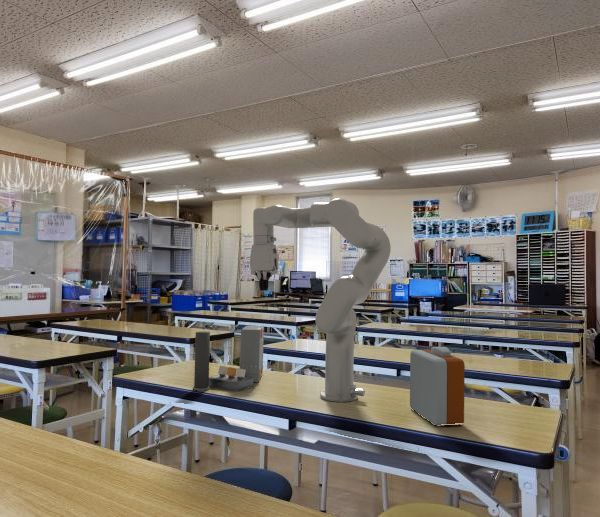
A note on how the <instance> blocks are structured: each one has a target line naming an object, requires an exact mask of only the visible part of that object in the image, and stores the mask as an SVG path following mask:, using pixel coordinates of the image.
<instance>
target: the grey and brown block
mask: <svg viewBox="0 0 600 517" xmlns="http://www.w3.org/2000/svg"><path fill="white" fill-rule="evenodd" d="M451 353H452V352H451V350H450V349H449V348H448V347H447V346H432V347H431V348H430V349H413V350H411V351H410V363H409V366H410V367H409V370H410V371H409V408H410V407H411V408H412V409H413V410H415V411H416V412H417V413H419V414H420V415H422V416H423V417H425V418H426V419H428V420H429V421H430V422H432V423H433V424H435V425H441V424H455V423H465V374H466V373H465V370H466V369H465V361H464V360H463V359H462V358H459V357H455V356H454V355H451ZM411 408H410V409H411ZM412 409H411V410H412ZM413 410H412V411H413ZM416 412H415V413H416ZM417 413H416V414H417ZM420 415H419V416H420ZM423 417H422V418H423Z"/></svg>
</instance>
